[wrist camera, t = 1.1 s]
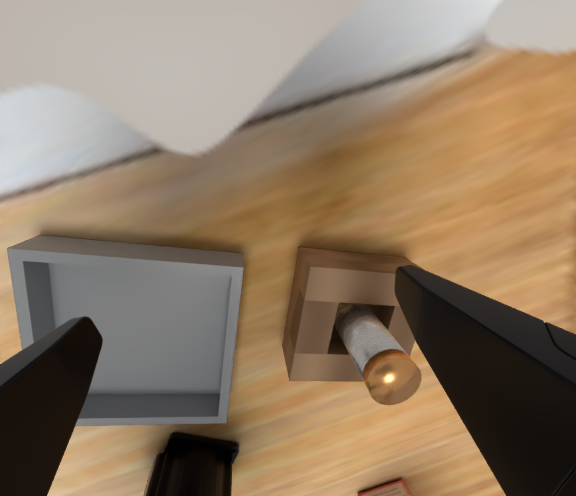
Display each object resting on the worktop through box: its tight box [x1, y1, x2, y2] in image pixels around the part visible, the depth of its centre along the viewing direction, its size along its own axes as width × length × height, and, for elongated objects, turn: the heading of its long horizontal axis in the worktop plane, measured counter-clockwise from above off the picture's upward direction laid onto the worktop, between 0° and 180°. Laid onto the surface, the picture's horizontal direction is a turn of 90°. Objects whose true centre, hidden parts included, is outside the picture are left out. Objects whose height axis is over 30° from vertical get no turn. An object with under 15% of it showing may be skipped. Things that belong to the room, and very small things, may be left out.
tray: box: [7, 235, 244, 426], centre depth 21 cm, size 13×13×3 cm
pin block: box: [282, 247, 424, 382], centre depth 22 cm, size 9×9×4 cm
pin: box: [334, 302, 421, 405], centre depth 20 cm, size 3×3×9 cm
